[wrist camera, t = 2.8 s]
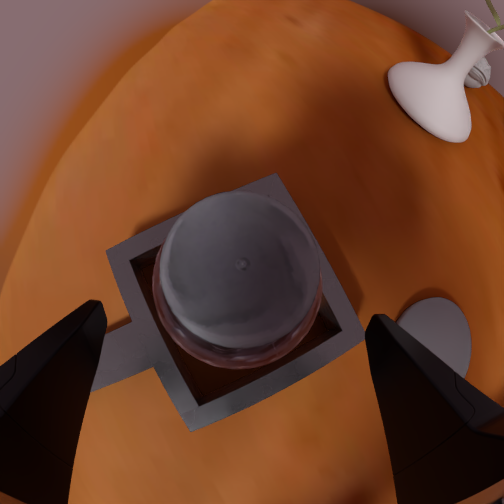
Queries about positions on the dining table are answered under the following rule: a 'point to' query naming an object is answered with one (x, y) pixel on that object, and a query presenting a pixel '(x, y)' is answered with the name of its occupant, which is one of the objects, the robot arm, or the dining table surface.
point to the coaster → (440, 330)
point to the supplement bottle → (238, 280)
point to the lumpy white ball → (478, 74)
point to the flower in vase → (445, 82)
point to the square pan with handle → (167, 355)
